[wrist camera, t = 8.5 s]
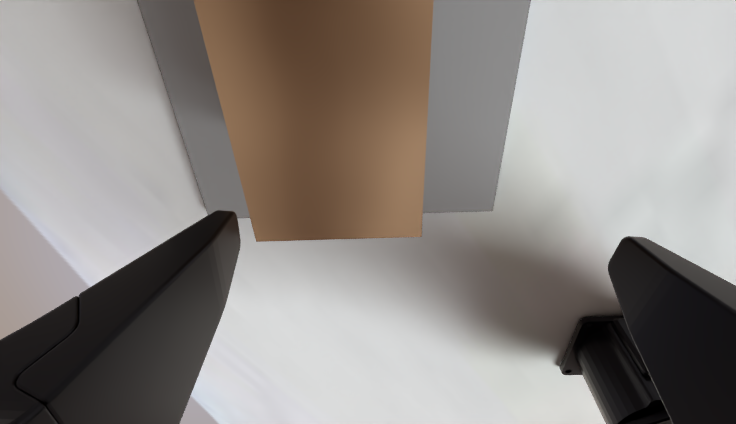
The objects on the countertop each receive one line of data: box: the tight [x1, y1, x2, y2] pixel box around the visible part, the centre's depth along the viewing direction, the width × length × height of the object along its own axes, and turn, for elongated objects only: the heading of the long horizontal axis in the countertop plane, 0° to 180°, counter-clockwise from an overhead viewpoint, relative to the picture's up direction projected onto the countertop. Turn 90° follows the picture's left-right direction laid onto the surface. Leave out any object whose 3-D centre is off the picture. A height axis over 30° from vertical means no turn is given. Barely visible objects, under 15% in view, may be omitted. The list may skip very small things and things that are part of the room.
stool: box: [194, 0, 434, 242], centre depth 14 cm, size 6×10×7 cm, turn 2°
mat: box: [137, 0, 531, 218], centre depth 17 cm, size 18×16×1 cm
